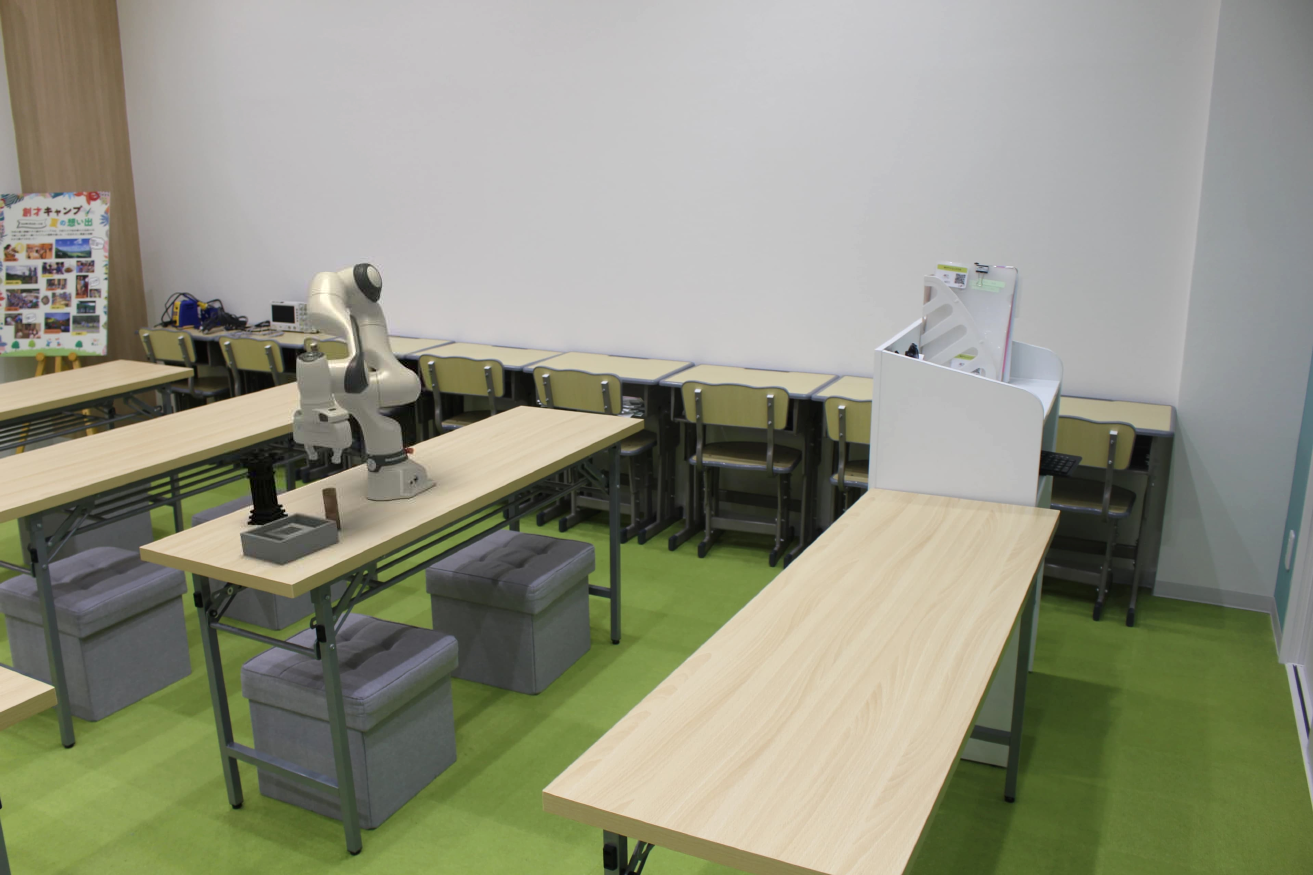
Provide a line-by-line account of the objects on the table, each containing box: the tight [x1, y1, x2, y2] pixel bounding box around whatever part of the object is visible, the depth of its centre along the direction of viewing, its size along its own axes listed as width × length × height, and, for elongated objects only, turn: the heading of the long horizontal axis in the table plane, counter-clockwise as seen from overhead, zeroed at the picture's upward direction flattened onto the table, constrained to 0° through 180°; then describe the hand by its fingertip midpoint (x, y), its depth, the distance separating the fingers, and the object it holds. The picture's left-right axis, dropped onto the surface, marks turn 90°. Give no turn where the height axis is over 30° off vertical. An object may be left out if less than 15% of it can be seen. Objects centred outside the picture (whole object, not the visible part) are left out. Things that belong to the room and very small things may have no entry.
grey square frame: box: [264, 523, 313, 541], centre depth 250 cm, size 9×9×4 cm
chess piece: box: [239, 450, 289, 526], centre depth 272 cm, size 8×8×20 cm
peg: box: [321, 487, 342, 532], centre depth 262 cm, size 4×4×12 cm
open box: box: [239, 512, 340, 566], centre depth 250 cm, size 18×16×6 cm
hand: (325, 461), depth 259 cm, fingers open, 8 cm apart
